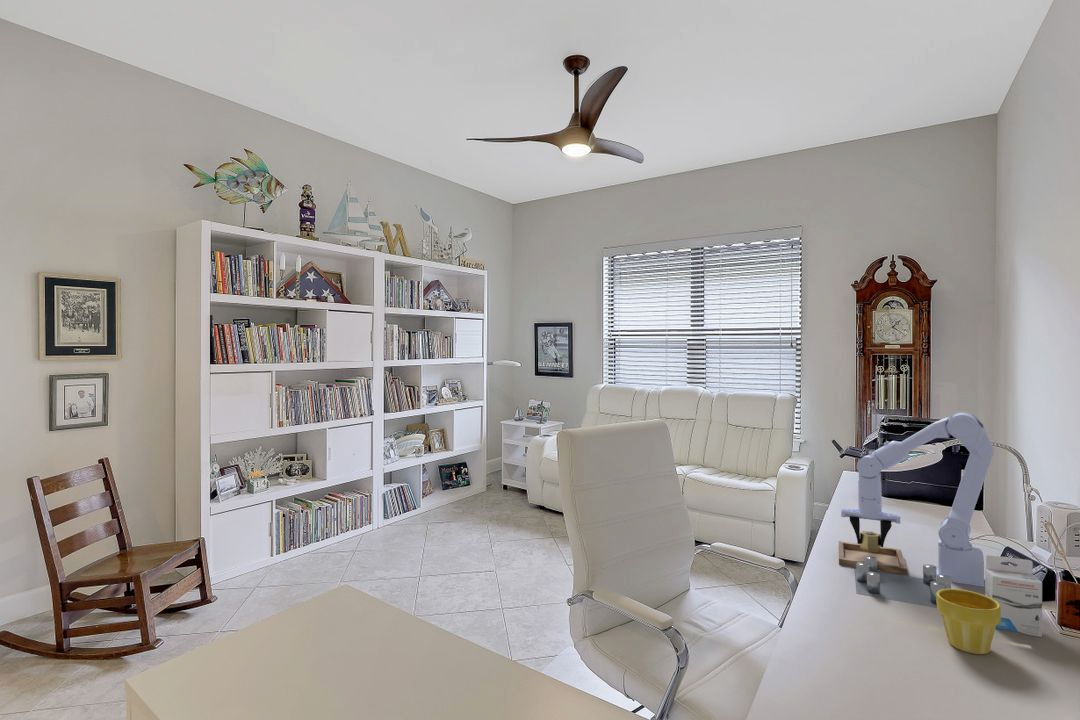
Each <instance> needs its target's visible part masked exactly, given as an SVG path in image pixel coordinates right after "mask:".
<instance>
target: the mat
mask: <svg viewBox="0 0 1080 720" xmlns="http://www.w3.org/2000/svg"><path fill="white" fill-rule="evenodd" d="M853 571H854V579H855V581H854V582H855V592H856V594H857V595H861V596H867V597H873V598H880V599H885V600H891V601H898V602H901V603H908V604H913V605H917V606H918V605H919V606H924V607H931V608H936V609H937V605H936V604H933V603H931V602H930V585H926V584H924V583H923V577H916V576H910V575H909V576H908V575H904V574H898V573H891V572H885V571H878V570H877V573H878V574H880V594H871V593H869V592H868V591H867V584H865V583H860V582H858V581H857V570H856V567H854V570H853Z"/></svg>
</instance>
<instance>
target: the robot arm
mask: <svg viewBox="0 0 1080 720" xmlns="http://www.w3.org/2000/svg"><path fill="white" fill-rule="evenodd" d="M950 436H952V437H953V438H954V439H957V440H958V441H959V442H961V443H962V445H963V446H964V448H966V450H967V451H968V452H969V456H968V458H967V462H966V465H965V467H964V469H963V473H962V476H961V480H960V482H959V485H958V488H957V490H956V494H955V497H954V500H953V503H952V506H951V508H950V511H949V514H948V515H947V516H946V517H945V518H944V519H942V521H941V524H940V525H941V527H940V529H938V538H939V539H938V540H937V557H938V558H937V560H938V561H937V568H936V575H937V574H944V575H948V576H950V577H951V583H958V584H964V585H970V586H978V587H985V559H984V553H983V550H982V549H981V548H979V547H975V546H973V544H972V543H970V534H971V526H970V523H971V520H972V518H973V513H974V512H975V511H974V510H975V508H976V504H977V503H978V500H979V497H980V493H981V491H982V488H983V485H984V482H985V480H986V476H987V474H988V470H989V467H990V464H991V463H992V460H993V459H992V458H993V456H994V451H995V450H994V449H995V448H994V446H993V443H992V441H991V439H990V437H989V434H988V432H987V431H986V428H985V426H984V423H982V421H981V420H980V419H978V417H976V416H975V414H973V413H971V412H969V411H968V412H966V411H959V412H955V413H954V414H953V415H952V416H946V417H944V418H942V419H940V420H937V421H935V422H933V423H931V424H929V425H928V426H926V427H924V428H923V429H921V430H919V431H917V432H915V433H914V434H912V435H911V436H909V437H907V438H905V439H904V440H902V441H897V440H892V441H888V440H887V441H885V442H884V443H883V446H880V447H879V448H877V449H876V450H874V451H873V450H870V451H869V452H868V454H867V455H864V456H863V457H862V458H860V459H859V460H857V463H856V470H857V473H858V481H857V482H858V484H857V485H858V488H857V489H858V490H857V491H858V493H857V495H858V509H856V508H855V509H853V508H852V509H850V508H840V509H841V510H840V514H841V516H840V517H841V518H849V522H850V525H851V527H852V528H853V530H854V533H855V537H856V540H857V543H856V544H860V533H861V532H860V529H861V528H860V527H861V523H860V519H863V520H872V521H879V523H880V524H879V525H880V526H879V527H880V533H879V534H880V547H884V546H885V545H884V543H885V540H886V538H887V535H888V534H889V532H890V530H891V529H892V527H893V526H892V525H893V524H892V523H895V524H901V515H900V514H894V513H888V512H882V511H883V510H882V508H883V507H882V506H883V505H882V503H883V502H882V499H883V497H882V479H881V478H882V477H881V476H882V474H881V472H882V471H883V470H888V469H890V468H893V467H894V466H895V465H898V464H900V463H901V462H903V461H905V460H907V459H908V458H909V453H910V451H913V450H915V449H917V448H918V447H921V446H923V445H924V444H926V443H928V442H930V441H932V440H935V439H939V438H940V439H942V438H943V439H948V438H950ZM881 470H882V471H881Z"/></svg>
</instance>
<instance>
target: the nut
mask: <svg viewBox="0 0 1080 720" xmlns="http://www.w3.org/2000/svg"><path fill="white" fill-rule="evenodd" d="M860 549H863V550H865V551H867V552H879V551H880V533H877V532H874V531H869V530H863V531H861V532H860Z"/></svg>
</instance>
